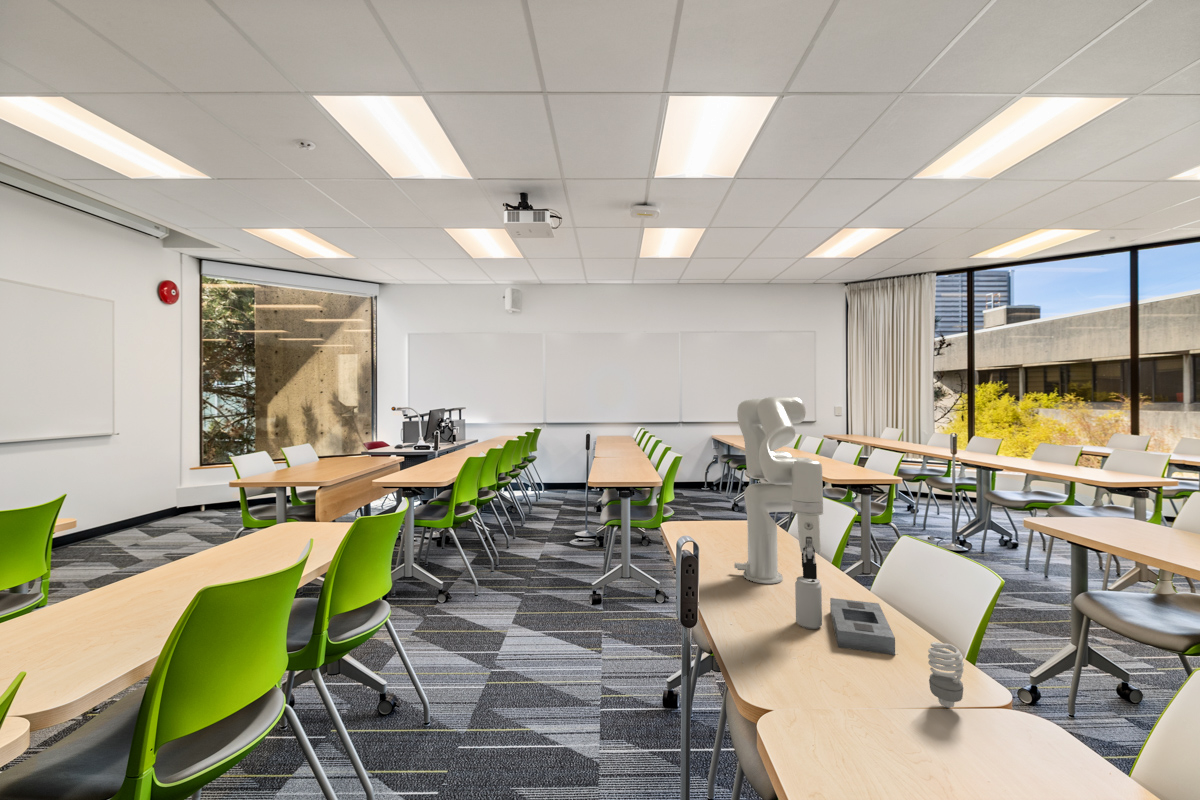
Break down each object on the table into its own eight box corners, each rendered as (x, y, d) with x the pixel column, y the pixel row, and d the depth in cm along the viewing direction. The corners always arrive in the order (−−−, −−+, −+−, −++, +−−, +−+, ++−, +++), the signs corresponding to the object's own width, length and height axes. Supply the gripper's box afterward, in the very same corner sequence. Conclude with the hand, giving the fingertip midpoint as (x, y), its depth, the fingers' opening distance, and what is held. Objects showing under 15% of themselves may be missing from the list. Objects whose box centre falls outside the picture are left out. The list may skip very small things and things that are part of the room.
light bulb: (966, 707, 97) (965, 643, 97) (962, 720, 93) (960, 653, 93) (931, 695, 100) (930, 634, 101) (925, 708, 96) (924, 644, 97)
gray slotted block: (837, 647, 121) (837, 629, 121) (830, 612, 142) (830, 597, 142) (895, 655, 117) (895, 637, 117) (878, 618, 138) (878, 602, 138)
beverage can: (810, 632, 129) (809, 584, 129) (790, 623, 135) (789, 577, 135) (827, 627, 132) (826, 580, 132) (807, 618, 138) (806, 573, 138)
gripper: (825, 513, 125) (827, 584, 124) (821, 503, 141) (822, 565, 140) (792, 512, 127) (794, 581, 126) (792, 501, 143) (793, 563, 143)
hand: (809, 573), depth 133 cm, fingers open, 9 cm apart
